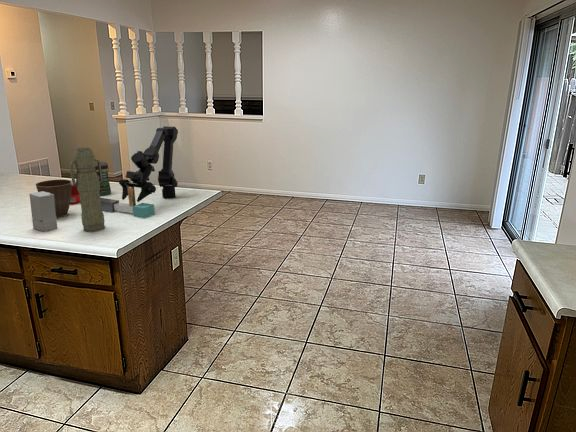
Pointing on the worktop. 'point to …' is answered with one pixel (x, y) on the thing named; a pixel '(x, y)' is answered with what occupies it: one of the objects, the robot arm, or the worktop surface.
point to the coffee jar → (104, 179)
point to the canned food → (74, 195)
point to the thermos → (88, 189)
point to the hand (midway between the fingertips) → (130, 200)
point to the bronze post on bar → (126, 207)
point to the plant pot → (58, 194)
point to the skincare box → (43, 211)
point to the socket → (143, 210)
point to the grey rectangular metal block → (107, 204)
